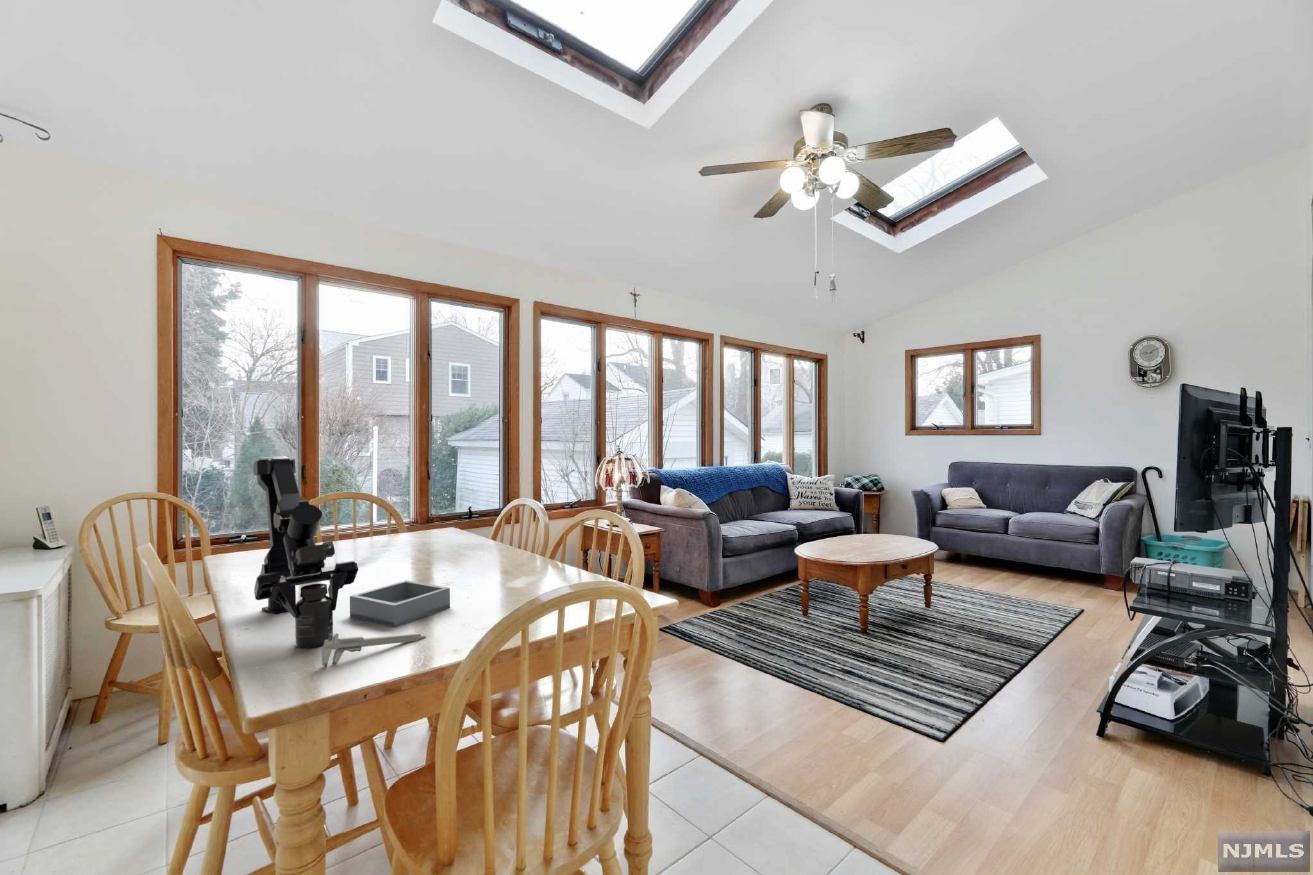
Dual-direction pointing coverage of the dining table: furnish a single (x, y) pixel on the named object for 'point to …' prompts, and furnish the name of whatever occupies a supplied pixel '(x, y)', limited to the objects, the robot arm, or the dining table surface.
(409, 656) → the dining table surface
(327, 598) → the supplement bottle
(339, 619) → the dining table surface
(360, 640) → the caliper
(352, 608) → the bin
